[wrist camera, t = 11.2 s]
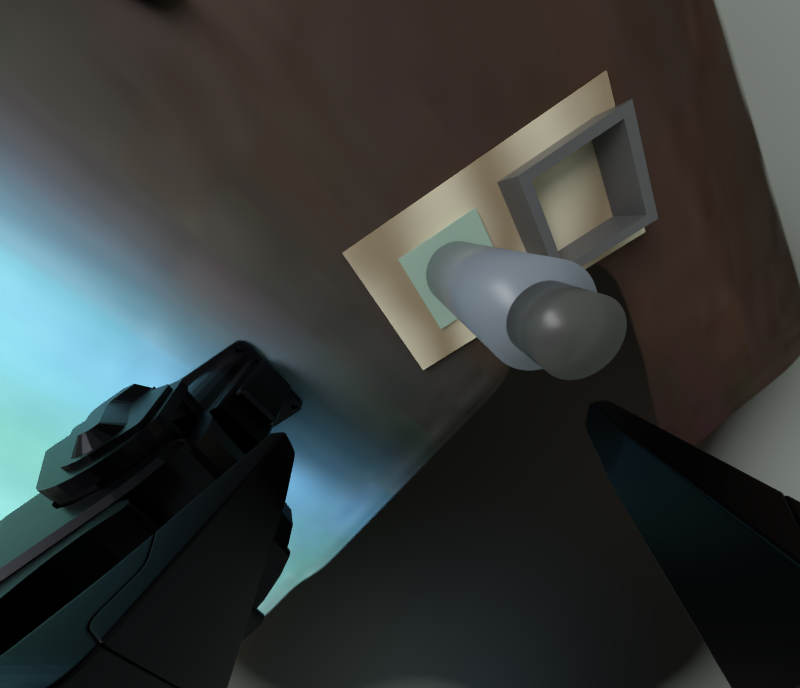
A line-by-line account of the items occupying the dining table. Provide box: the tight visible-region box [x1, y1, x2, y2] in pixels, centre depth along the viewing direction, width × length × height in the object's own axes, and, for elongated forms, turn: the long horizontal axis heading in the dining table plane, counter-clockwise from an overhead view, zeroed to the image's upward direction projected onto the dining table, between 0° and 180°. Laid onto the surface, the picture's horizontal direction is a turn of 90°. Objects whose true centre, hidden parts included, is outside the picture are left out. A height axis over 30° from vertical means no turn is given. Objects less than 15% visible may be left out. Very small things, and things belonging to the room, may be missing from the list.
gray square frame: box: [497, 99, 658, 266], centre depth 18 cm, size 7×7×2 cm
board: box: [343, 70, 645, 370], centre depth 19 cm, size 18×10×1 cm, turn 122°
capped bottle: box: [426, 241, 627, 380], centre depth 14 cm, size 4×4×12 cm
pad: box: [398, 208, 493, 329], centre depth 19 cm, size 6×6×1 cm
